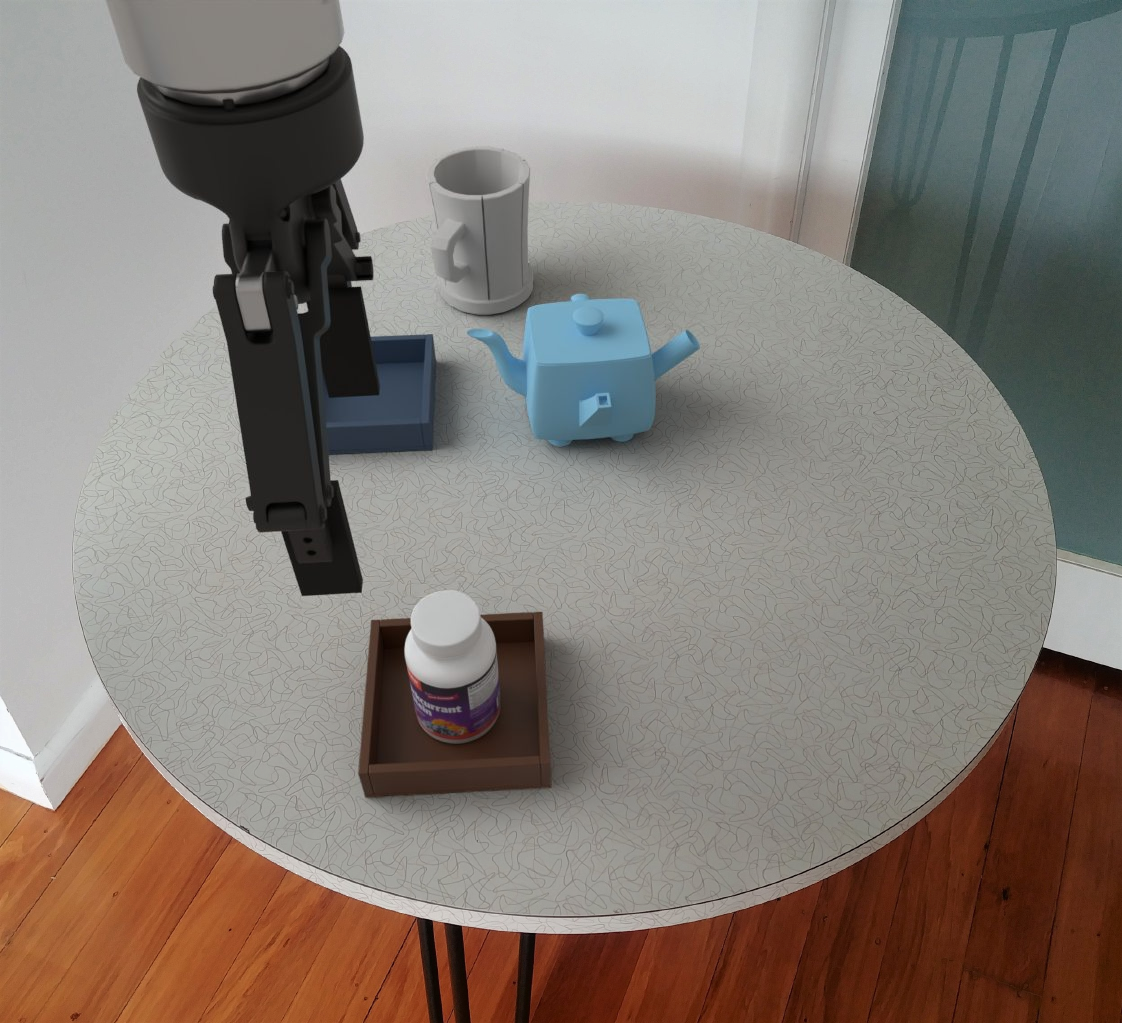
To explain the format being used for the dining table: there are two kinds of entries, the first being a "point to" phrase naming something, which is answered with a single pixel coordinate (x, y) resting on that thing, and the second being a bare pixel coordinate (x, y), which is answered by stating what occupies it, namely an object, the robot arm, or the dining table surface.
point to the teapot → (587, 368)
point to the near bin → (437, 767)
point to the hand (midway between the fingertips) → (344, 482)
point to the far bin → (388, 401)
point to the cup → (481, 228)
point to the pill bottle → (452, 668)
